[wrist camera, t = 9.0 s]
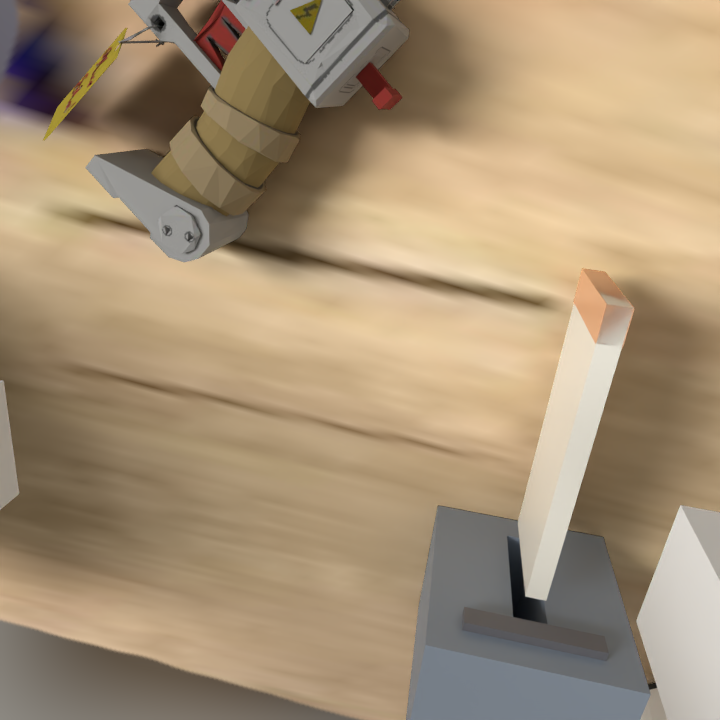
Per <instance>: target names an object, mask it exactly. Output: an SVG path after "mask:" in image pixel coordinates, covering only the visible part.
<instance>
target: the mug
mask: <svg viewBox="0 0 720 720" xmlns="http://www.w3.org/2000/svg"><path fill="white" fill-rule="evenodd" d="M648 687H649V690H650V694H651V695H650V697H649V700H648V702H647V705H646V707H645V709H644V712H643V714H642V716H641V719H640V720H667V717H666V714H665V711H664V707H663V704H662V701H661V698H660V695H659V692H658V689H657V685H656V683H653V684H649V685H648Z"/></svg>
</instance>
